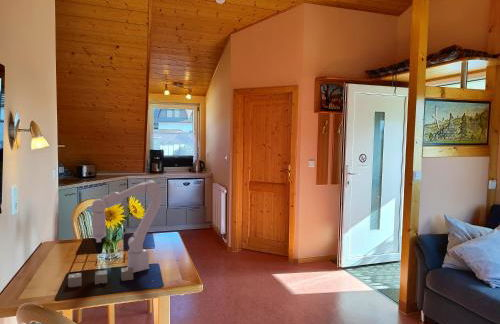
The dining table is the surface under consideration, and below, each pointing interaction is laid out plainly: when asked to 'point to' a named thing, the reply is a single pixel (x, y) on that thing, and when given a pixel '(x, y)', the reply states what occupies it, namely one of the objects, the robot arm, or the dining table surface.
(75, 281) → the dotted block
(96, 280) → the plain block
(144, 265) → the robot arm
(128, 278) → the barred block
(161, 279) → the dining table surface
